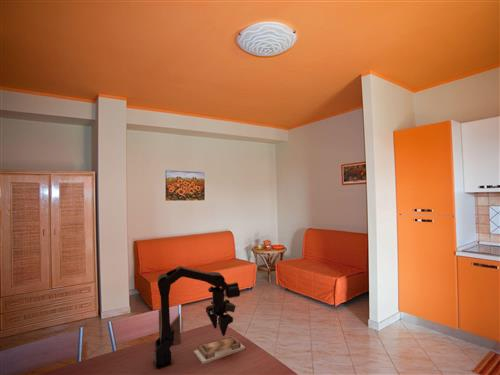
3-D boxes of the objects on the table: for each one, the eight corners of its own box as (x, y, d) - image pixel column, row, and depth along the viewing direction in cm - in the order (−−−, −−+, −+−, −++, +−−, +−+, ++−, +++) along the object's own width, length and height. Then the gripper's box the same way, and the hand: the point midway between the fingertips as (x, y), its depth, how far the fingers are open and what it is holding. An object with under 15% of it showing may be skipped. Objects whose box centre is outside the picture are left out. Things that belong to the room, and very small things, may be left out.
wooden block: (179, 344, 149) (179, 308, 150) (158, 345, 148) (157, 310, 148) (180, 340, 153) (179, 305, 153) (159, 342, 152) (158, 307, 152)
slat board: (202, 364, 131) (202, 357, 131) (193, 352, 141) (193, 346, 141) (244, 349, 143) (244, 342, 143) (234, 339, 152) (234, 333, 152)
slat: (206, 354, 137) (206, 348, 137) (204, 350, 141) (204, 344, 141) (234, 347, 143) (234, 340, 143) (231, 343, 146) (231, 337, 146)
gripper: (242, 301, 138) (243, 334, 138) (224, 290, 154) (225, 320, 154) (221, 307, 133) (222, 341, 132) (204, 295, 148) (205, 326, 148)
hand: (219, 331), depth 142 cm, fingers open, 9 cm apart
